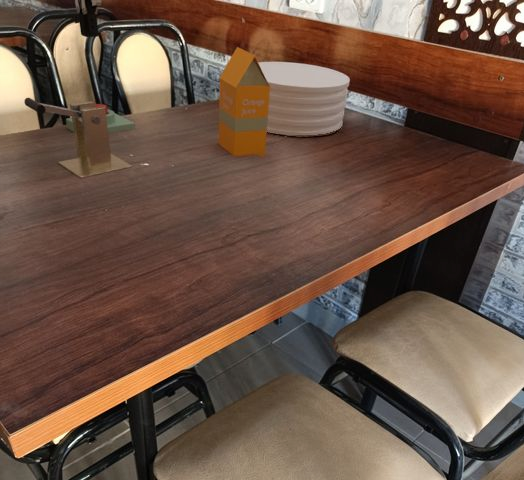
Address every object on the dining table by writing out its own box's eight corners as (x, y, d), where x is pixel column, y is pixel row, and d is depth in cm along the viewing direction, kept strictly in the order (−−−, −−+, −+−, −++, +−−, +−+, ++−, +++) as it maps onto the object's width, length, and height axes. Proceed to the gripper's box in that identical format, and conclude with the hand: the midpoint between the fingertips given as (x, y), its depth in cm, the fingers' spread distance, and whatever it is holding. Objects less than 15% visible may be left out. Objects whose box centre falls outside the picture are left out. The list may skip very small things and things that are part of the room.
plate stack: (362, 126, 137) (371, 79, 130) (294, 144, 121) (300, 92, 113) (286, 101, 151) (290, 58, 144) (216, 115, 135) (217, 67, 128)
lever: (36, 116, 85) (37, 100, 84) (23, 108, 88) (24, 93, 86) (101, 127, 94) (103, 114, 93) (88, 120, 96) (89, 107, 95)
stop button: (96, 117, 114) (95, 109, 113) (88, 113, 116) (87, 105, 115) (110, 115, 116) (109, 107, 115) (102, 111, 118) (101, 103, 117)
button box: (88, 140, 112) (86, 122, 110) (67, 128, 117) (64, 110, 115) (135, 132, 119) (134, 114, 116) (113, 121, 124) (111, 103, 122)
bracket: (81, 183, 94) (70, 116, 87) (59, 168, 99) (47, 103, 92) (132, 171, 100) (127, 108, 93) (109, 157, 105) (102, 96, 98)
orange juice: (248, 144, 118) (253, 46, 106) (265, 157, 112) (273, 55, 100) (217, 147, 115) (219, 46, 103) (233, 160, 109) (237, 55, 97)
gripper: (38, -82, 96) (56, 30, 108) (76, -78, 88) (91, 43, 100) (75, -79, 100) (88, 29, 112) (114, -74, 92) (124, 41, 104)
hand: (90, 35), depth 106 cm, fingers closed
